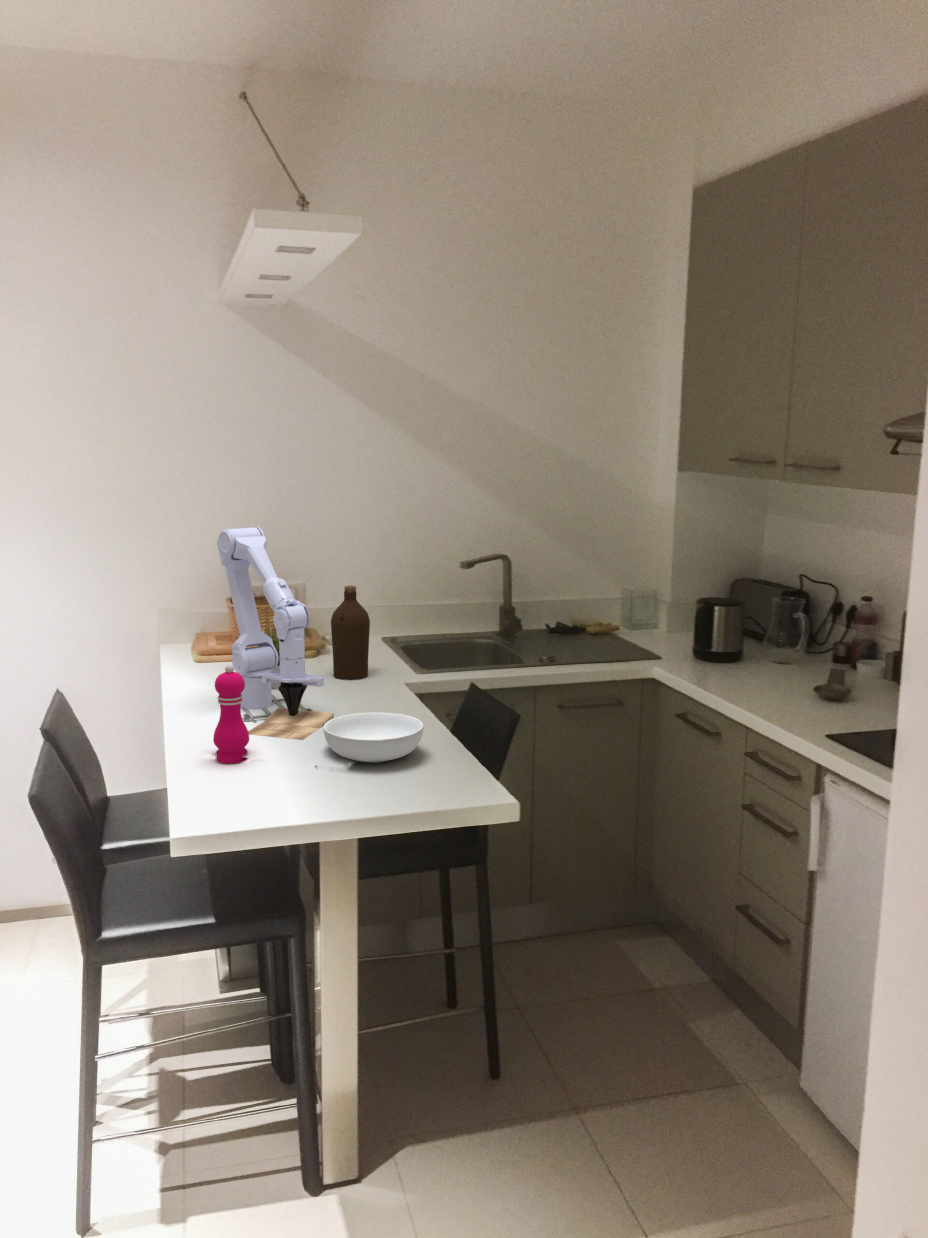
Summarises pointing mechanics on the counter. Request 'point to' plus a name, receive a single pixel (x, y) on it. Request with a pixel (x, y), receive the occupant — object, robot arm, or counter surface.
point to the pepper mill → (230, 718)
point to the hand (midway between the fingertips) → (293, 714)
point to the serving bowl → (373, 736)
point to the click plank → (300, 718)
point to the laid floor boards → (282, 731)
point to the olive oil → (350, 638)
